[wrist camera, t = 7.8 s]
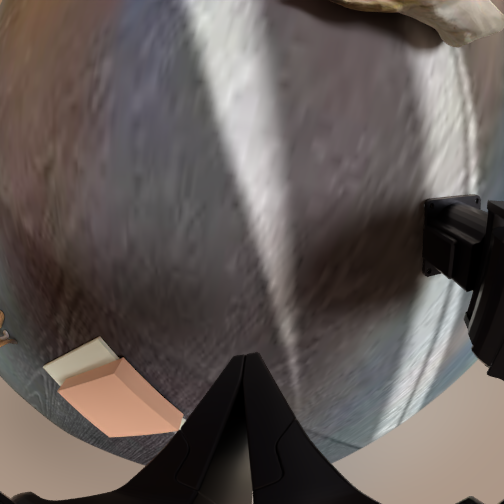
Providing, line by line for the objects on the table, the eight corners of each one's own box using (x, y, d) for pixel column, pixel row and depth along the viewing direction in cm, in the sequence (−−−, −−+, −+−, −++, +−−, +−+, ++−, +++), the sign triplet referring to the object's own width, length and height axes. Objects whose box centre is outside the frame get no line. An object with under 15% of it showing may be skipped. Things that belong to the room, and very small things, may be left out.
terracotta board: (114, 373, 21) (57, 391, 24) (178, 430, 24) (109, 437, 27) (123, 357, 24) (65, 379, 27) (183, 414, 27) (115, 424, 30)
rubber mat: (99, 336, 24) (97, 339, 23) (192, 425, 28) (191, 428, 28) (44, 364, 27) (43, 367, 27) (118, 434, 32) (117, 436, 31)
